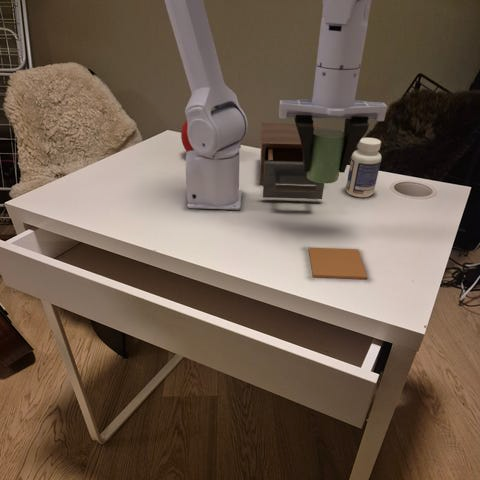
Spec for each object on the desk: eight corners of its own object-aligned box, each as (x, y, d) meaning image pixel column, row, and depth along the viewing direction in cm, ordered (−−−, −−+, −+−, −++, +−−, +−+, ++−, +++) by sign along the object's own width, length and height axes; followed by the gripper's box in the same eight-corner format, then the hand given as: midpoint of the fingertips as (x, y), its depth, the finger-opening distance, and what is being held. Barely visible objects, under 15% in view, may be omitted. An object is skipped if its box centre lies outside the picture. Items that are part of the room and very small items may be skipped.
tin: (308, 183, 62) (314, 137, 58) (305, 171, 66) (310, 127, 62) (340, 184, 62) (348, 138, 58) (335, 172, 66) (343, 128, 61)
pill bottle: (378, 193, 81) (391, 141, 75) (361, 200, 78) (373, 147, 72) (357, 184, 84) (367, 134, 78) (339, 191, 82) (348, 139, 75)
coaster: (312, 277, 58) (313, 274, 58) (308, 249, 64) (308, 247, 64) (367, 279, 58) (367, 276, 58) (357, 251, 64) (358, 249, 64)
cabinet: (319, 186, 83) (326, 144, 78) (259, 184, 83) (261, 142, 78) (313, 162, 93) (318, 124, 88) (260, 161, 94) (262, 122, 89)
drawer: (324, 209, 73) (330, 174, 69) (262, 207, 73) (264, 171, 69) (315, 174, 86) (319, 142, 82) (262, 172, 86) (264, 140, 82)
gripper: (283, 70, 51) (276, 178, 60) (401, 72, 51) (376, 181, 60) (281, 60, 57) (274, 161, 65) (388, 63, 56) (367, 163, 65)
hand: (323, 169), depth 63 cm, fingers closed on tin, 5 cm apart
